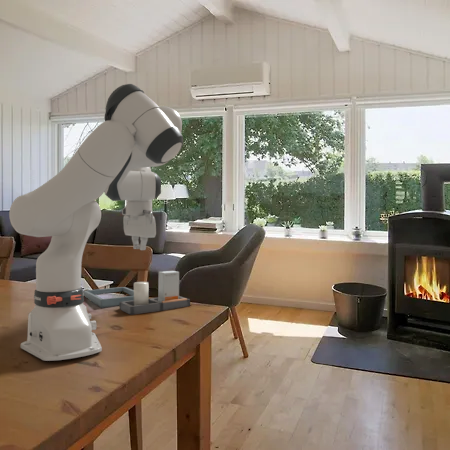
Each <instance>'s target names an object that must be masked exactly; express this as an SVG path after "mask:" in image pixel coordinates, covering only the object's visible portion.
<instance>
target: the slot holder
mask: <svg viewBox="0 0 450 450" xmlns="http://www.w3.org/2000/svg"><path fill="white" fill-rule="evenodd" d="M118 306H119V310H120V311H122V312H124V313H125V314H128V315H131V316H133V315H139V314H140V315H141V314H146V313H157V312H162V311H168V310H175V309H179V308H185V307H190V306H191V299H190V298H188V297H184V296H180V295H179V299H175V300H167V301H162V302H159V301H158V297H152V298H151V297H150V298H149V304H144V305H136V306H134V300H132V301H123V302H119V305H118Z"/></svg>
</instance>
